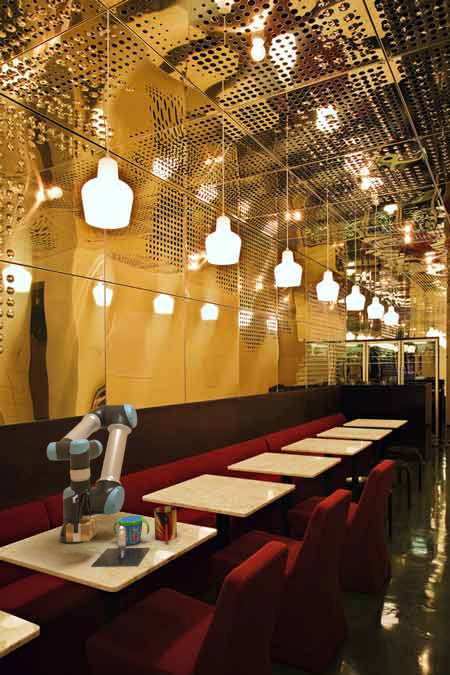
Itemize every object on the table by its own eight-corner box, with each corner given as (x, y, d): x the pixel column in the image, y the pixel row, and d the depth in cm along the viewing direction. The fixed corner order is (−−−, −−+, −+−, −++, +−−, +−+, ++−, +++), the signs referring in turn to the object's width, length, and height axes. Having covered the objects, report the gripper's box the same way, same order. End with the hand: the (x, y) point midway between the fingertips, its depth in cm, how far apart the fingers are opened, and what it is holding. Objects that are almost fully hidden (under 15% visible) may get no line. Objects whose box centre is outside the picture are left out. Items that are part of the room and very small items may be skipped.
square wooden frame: (75, 533, 192) (75, 518, 192) (96, 533, 191) (96, 518, 191) (66, 541, 183) (65, 525, 183) (88, 541, 182) (88, 525, 182)
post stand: (107, 549, 195) (106, 519, 196) (149, 548, 193) (149, 518, 195) (91, 566, 177) (90, 533, 178) (138, 566, 176) (137, 532, 177)
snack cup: (109, 546, 199) (108, 521, 200) (120, 538, 209) (119, 514, 210) (143, 547, 195) (143, 522, 196) (153, 538, 206) (152, 515, 207)
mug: (166, 545, 197) (165, 515, 198) (151, 537, 208) (150, 509, 209) (186, 539, 203) (185, 511, 204) (170, 532, 214) (169, 505, 215)
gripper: (81, 473, 199) (83, 527, 198) (59, 486, 178) (61, 547, 176) (98, 472, 199) (100, 527, 197) (78, 485, 177) (80, 546, 176)
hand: (81, 536), depth 187 cm, fingers closed on square wooden frame, 9 cm apart
